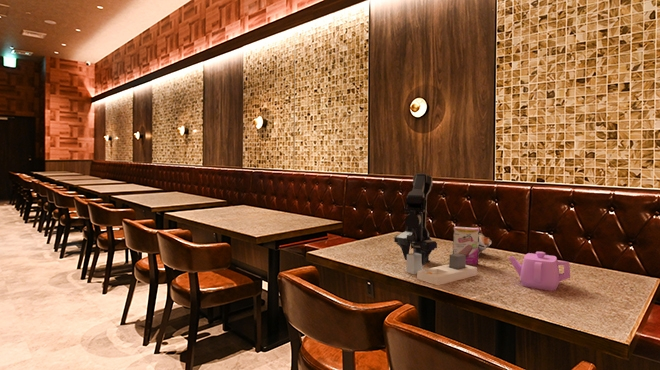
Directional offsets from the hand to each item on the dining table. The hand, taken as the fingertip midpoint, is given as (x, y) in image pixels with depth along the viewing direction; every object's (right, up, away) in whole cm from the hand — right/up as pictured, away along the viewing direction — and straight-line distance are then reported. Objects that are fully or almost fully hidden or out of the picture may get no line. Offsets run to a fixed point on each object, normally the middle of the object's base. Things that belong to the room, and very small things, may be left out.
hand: (414, 262), depth 166 cm
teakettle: (+44, -6, -12) cm, 47 cm away
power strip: (+12, -5, -6) cm, 14 cm away
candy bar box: (+26, -4, +16) cm, 31 cm away
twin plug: (+17, -4, -3) cm, 17 cm away
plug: (0, -5, 0) cm, 5 cm away
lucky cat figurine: (+37, -3, +36) cm, 52 cm away
